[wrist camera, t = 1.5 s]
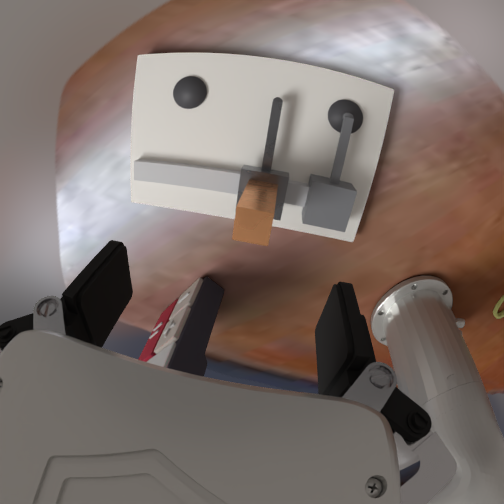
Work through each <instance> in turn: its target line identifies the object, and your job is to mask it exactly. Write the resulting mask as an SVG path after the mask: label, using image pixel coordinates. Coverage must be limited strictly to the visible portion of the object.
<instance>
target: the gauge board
mask: <svg viewBox="0 0 504 504" xmlns="http://www.w3.org/2000/svg"><path fill="white" fill-rule="evenodd" d="M393 94H394V89H391V88H388V87H386V86H383V85H380V84H377V83H374V82H371V81H368V80H365V79H362V78H359V77H355V76H352V75H348V74H345V73H341V72H337V71H334V70H330V69H326V68H321V67H317V66H312V65H308V64H303V63H297V62H292V61H286V60H280V59H273V58H266V57H258V56H249V55H238V54H224V53H159V54H145V55H138V59H137V67H136V75H135V84H134V95H133V108H132V124H131V202H133V203H139V204H146V205H153V206H159V207H166V208H172V209H178V210H184V211H190V212H196V213H202V214H208V215H214V216H220V217H226V218H231V219H235V213H236V212H235V211H236V203H237V195H238V188H239V180H240V173H241V168H242V167H243V165H249V166H255V167H261V168H262V163H263V157H264V151H265V145H266V139H267V132H268V126H269V120H270V114H271V108H272V102H273V99H274V98H276V97H279V98H281V99H282V100H283V103H282V109H281V115H280V121H279V127H278V132H277V138H276V144H275V150H274V155H273V161H272V167H271V169H272V170H278V171H283V172H288V173H289V181H288V186H287V191H286V196H285V201H284V206H283V211H282V215H281V220H275V219H273V223H272V226H275V227H280V228H285V229H291V230H296V231H301V232H306V233H311V234H316V235H321V236H326V237H330V238H335V239H340V240H345V241H350V242H353V241H354V238H355V235H356V232H357V229H358V226H359V223H360V220H361V217H362V214H363V211H364V208H365V205H366V201H367V198H368V195H369V192H370V188H371V185H372V181H373V178H374V174H375V171H376V167H377V163H378V160H379V156H380V152H381V148H382V144H383V140H384V136H385V132H386V127H387V123H388V118H389V114H390V109H391V104H392V99H393Z"/></svg>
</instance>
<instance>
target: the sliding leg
mask: <svg viewBox="0 0 504 504" xmlns="http://www.w3.org/2000/svg"><path fill="white" fill-rule="evenodd" d="M282 103H283V100H282V99H281V98H279V97H276V98H274V99H273V102H272V108H271V114H270V120H269V126H268V132H267V139H266V145H265V151H264V157H263V163H262V168H261V167H255V166H249V165H243V167H242V168H241V173H240V180H239V188H238V195H237V203H236V211H235V212H236V213H235V221H234V229H233V237H232V240H237V241H243V242H248V243H253V244H259V245H264V246H268V243H269V238H270V233H271V228H272V223H273V219H275V220H281V215H282V211H283V206H284V201H285V196H286V191H287V186H288V181H289V173H288V172H283V171H278V170H272V169H271V167H272V161H273V155H274V150H275V144H276V138H277V132H278V127H279V121H280V115H281V109H282Z"/></svg>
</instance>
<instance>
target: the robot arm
mask: <svg viewBox="0 0 504 504" xmlns="http://www.w3.org/2000/svg"><path fill="white" fill-rule="evenodd" d="M132 293H133V291H132V284H131V278H130V271H129V264H128V256H127V249H126V246H124V244H123V243H122V242H118V241H113V240H111V241H109V242H108V243H107V245H106V246H105V247H104V248H103V249H102V250H101V251H100V252H99V253H98V254H97V255H96V256H95V257H94V258H93V259H92V260H91V262H90V263H89V264H88V265H87V266H86V267H85V268H84V269H83V270H82V271H81V273H80V274H79V275H78V276H77V277H76V278H75V279H74V281H73V282H72V283H71V284H70V285H69V286H68V288H67V289H66V290H65V291H64V292H63V294H62V295H63V297H62V298H61V299H59V298H58V297H56V296H47V297H44V298H42V299H41V300H39V301H38V302H37V303H36V305H35V307H34V310H33V314H29V315H26V316H23V317H20V318H17V319H14V320H11V321H8V322H5V323H3V324H2V325H1V326H0V504H504V439H503V436H502V433H501V431H500V429H499V426H498V423H497V420H496V418H495V415H494V412H493V409H492V407H491V404H490V401H489V398H488V396H487V393H486V390H485V387H484V385H483V383H482V380H481V377H480V375H479V372H478V370H477V368H476V365H475V363H474V361H473V358H472V356H471V354H470V351H469V349H468V347H467V345H466V343H465V341H464V339H463V337H462V331H461V330H459V328H463V327H464V325H465V320H464V319H462V318H455V316H454V314H453V312H452V310H451V308H452V302H453V298H452V293H451V290H450V289H449V287H448V285H447V284H446V283H445V282H444V281H443V280H442V279H440V278H438V277H434V276H418V277H413V278H410V279H408V280H405V281H403V282H401V283H399V284H397V285H396V286H395V287H393V288H392V289H390V290H389V291H388V292H387V293H386V294H385V295H384V296H383V297H382V298H381V299H380V300H379V302H378V303H377V305H376V306H375V308H374V310H373V313H372V316H371V328H372V332H373V335H374V336H375V338H376V339H377V340H378V341H379V342H380V343H382V344H384V345H387V346H388V348H389V352H390V356H391V360H392V364H393V368H394V371H393V369H392V368H391V367H390V366H388V365H386V364H385V363H381V362H376V359H375V355H374V351H373V347H372V343H371V339H370V335H369V331H368V327H367V323H366V319H365V317H364V316H363V315H361V314H360V310H359V307H358V303H357V299H356V296H355V292H354V289H353V285H352V284H351V283H345V282H339V283H338V284H337V285H336V284H334V285H333V287H332V290H331V292H330V295H329V297H328V300H327V302H326V305H325V307H324V309H323V312H322V314H321V317H320V319H319V321H318V323H317V326H316V329H315V340H316V354H317V371H318V391H319V394H312V393H302V392H293V391H285V390H277V389H270V388H263V387H256V386H250V385H244V384H238V383H232V382H227V381H222V380H217V379H212V378H207V377H203V376H198V375H194V374H189V373H185V372H181V371H177V370H173V369H169V368H165V367H162V366H158V365H155V364H151V363H148V362H144V361H141V360H137V359H134V358H131V357H128V356H125V355H121V354H118V353H115V352H112V351H110V350H106V349H103V348H102V346H103V344H104V343H105V341H106V339H107V337H108V336H109V334H110V332H111V330H112V329H113V327H114V325H115V324H116V322H117V320H118V319H119V317H120V315H121V314H122V312H123V310H124V309H125V307H126V306H127V304H128V302H129V301H130V299H131V297H132ZM396 384H398V388H397V387H396Z"/></svg>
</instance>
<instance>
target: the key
mask: <svg viewBox="0 0 504 504" xmlns="http://www.w3.org/2000/svg"><path fill="white" fill-rule="evenodd" d="M503 301H504V295H503V296H502V297H501V299H500V300H499V301H498V302H497V304H496V306H495V307H494V310H493V315H494V316H495V317H496V318H497V319H500V318H502V317H504V310H503V311H501V312H500V313H497V312H498V309H499V307H500V305H501V304H502V302H503Z"/></svg>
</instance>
